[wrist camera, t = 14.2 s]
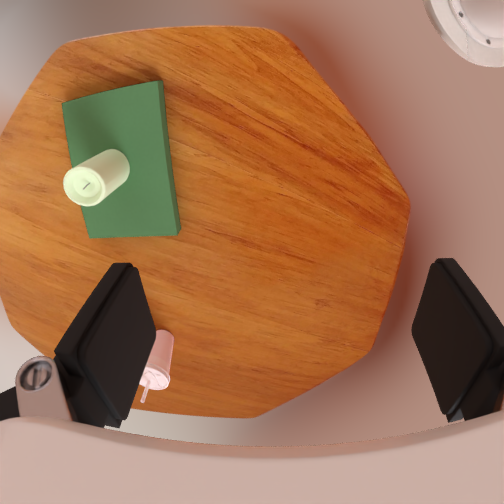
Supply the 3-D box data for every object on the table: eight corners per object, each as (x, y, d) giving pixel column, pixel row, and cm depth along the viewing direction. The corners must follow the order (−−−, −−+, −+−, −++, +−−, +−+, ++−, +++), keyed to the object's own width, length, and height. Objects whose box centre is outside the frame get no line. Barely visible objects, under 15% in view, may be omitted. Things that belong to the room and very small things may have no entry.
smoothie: (146, 343, 55) (123, 403, 43) (148, 319, 52) (121, 382, 40) (179, 352, 56) (161, 415, 43) (183, 329, 52) (163, 396, 40)
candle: (137, 167, 36) (108, 189, 29) (115, 193, 38) (85, 219, 31) (111, 140, 35) (76, 157, 28) (90, 168, 37) (55, 189, 29)
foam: (69, 101, 34) (61, 103, 32) (163, 80, 33) (157, 80, 31) (95, 232, 44) (89, 238, 42) (181, 228, 43) (177, 235, 41)
